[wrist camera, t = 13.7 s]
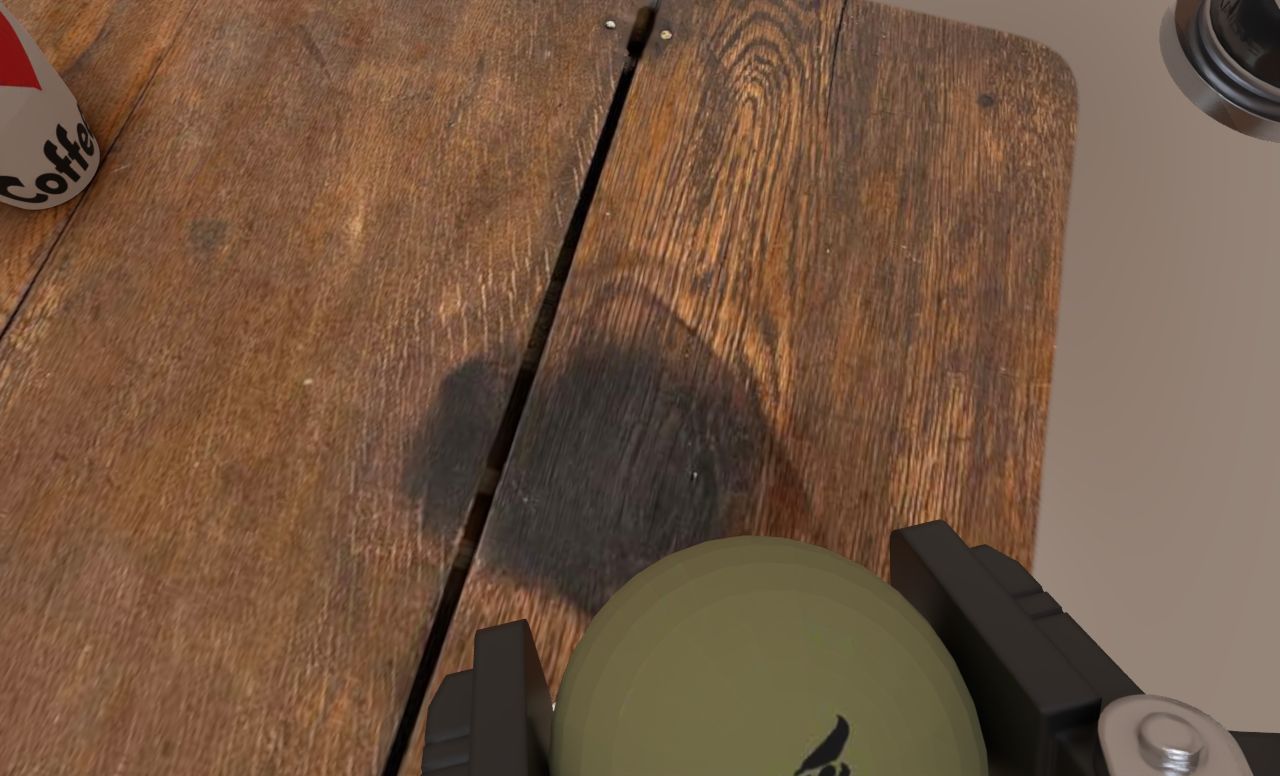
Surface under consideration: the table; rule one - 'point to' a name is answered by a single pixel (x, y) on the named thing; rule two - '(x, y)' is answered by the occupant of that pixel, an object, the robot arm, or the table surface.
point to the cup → (39, 126)
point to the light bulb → (762, 674)
